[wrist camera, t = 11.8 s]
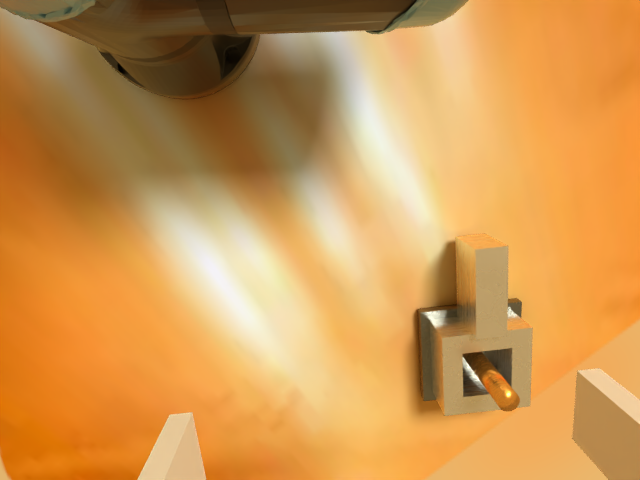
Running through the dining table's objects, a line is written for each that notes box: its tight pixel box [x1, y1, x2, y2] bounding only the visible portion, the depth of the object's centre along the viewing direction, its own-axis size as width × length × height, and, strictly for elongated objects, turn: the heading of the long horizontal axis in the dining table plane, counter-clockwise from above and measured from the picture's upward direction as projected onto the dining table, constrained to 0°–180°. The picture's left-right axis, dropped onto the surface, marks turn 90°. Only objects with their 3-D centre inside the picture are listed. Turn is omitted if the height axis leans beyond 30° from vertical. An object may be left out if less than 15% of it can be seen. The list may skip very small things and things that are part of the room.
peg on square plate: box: [418, 298, 522, 411], centre depth 41 cm, size 11×11×10 cm
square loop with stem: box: [430, 233, 533, 416], centre depth 41 cm, size 18×9×5 cm, turn 6°
